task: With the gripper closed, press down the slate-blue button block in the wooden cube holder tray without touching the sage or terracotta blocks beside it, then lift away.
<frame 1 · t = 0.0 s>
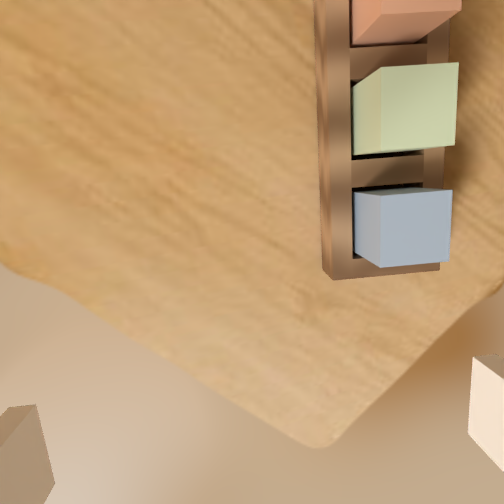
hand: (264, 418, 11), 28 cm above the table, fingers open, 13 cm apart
slate cap: (395, 223, 32), point 6 cm above the table, slide at 0.0 cm
sage cap: (397, 114, 30), point 6 cm above the table, slide at 0.0 cm
wooden cube holder tray: (370, 124, 36), on the table
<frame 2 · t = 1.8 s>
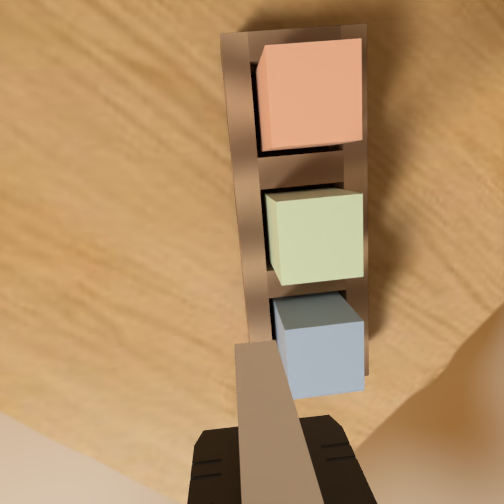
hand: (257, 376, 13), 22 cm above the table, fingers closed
slate cap: (314, 339, 30), point 6 cm above the table, slide at 0.0 cm
sage cap: (309, 231, 28), point 6 cm above the table, slide at 0.0 cm
wooden cube holder tray: (295, 220, 34), on the table
terracotta cap: (303, 103, 26), point 6 cm above the table, slide at 0.0 cm
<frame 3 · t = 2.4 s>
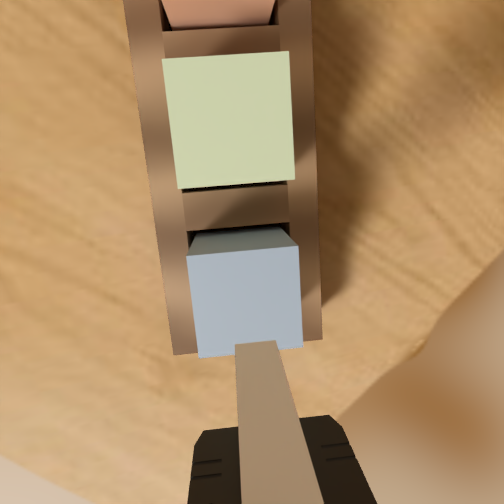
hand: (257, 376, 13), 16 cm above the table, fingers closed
slate cap: (244, 283, 23), point 6 cm above the table, slide at 0.0 cm
sage cap: (230, 130, 21), point 6 cm above the table, slide at 0.0 cm
wooden cube holder tray: (229, 139, 26), on the table
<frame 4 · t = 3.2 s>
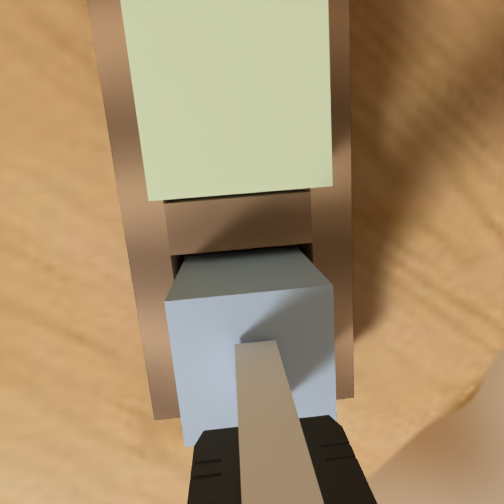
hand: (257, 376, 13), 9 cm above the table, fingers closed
slate cap: (249, 328, 16), point 6 cm above the table, slide at 0.2 cm, touching gripper
sage cap: (232, 113, 14), point 6 cm above the table, slide at 0.0 cm
wooden cube holder tray: (230, 130, 20), on the table
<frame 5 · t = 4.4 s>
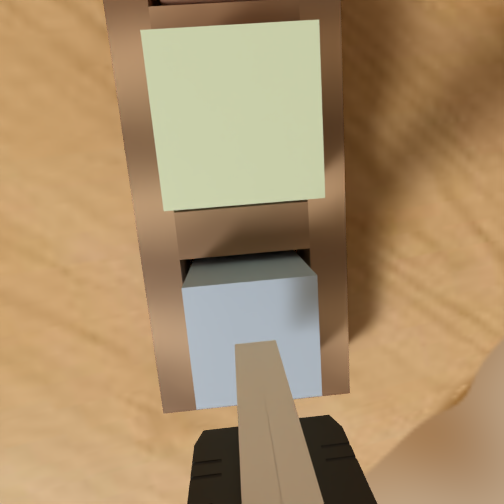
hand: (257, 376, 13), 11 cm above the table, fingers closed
slate cap: (250, 315, 19), point 4 cm above the table, slide at 1.8 cm
sage cap: (236, 132, 16), point 6 cm above the table, slide at 0.0 cm
wooden cube holder tray: (234, 144, 21), on the table
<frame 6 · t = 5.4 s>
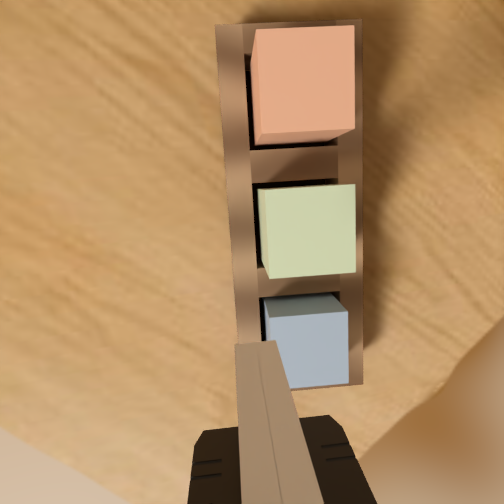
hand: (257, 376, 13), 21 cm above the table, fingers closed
slate cap: (301, 332, 31), point 4 cm above the table, slide at 1.8 cm
sage cap: (301, 226, 27), point 6 cm above the table, slide at 0.0 cm
wooden cube holder tray: (288, 219, 33), on the table
terracotta cap: (296, 94, 25), point 6 cm above the table, slide at 0.0 cm
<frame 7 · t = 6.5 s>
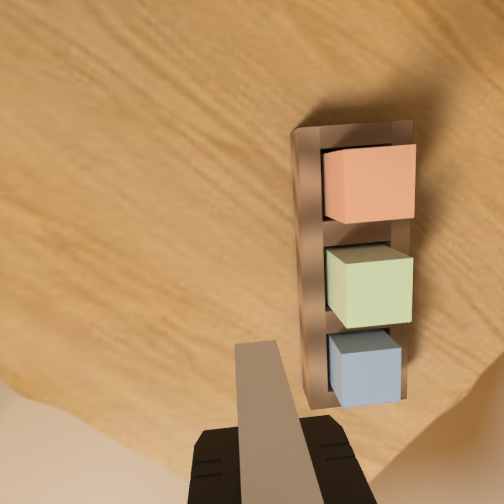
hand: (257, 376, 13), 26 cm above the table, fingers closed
slate cap: (358, 360, 38), point 4 cm above the table, slide at 1.8 cm
sage cap: (364, 281, 34), point 6 cm above the table, slide at 0.0 cm
wooden cube holder tray: (344, 266, 40), on the table
terracotta cap: (363, 183, 32), point 6 cm above the table, slide at 0.0 cm
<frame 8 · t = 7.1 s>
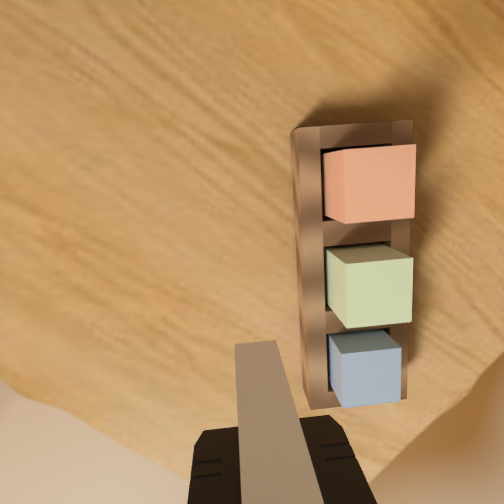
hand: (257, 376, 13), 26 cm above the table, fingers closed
slate cap: (358, 360, 38), point 4 cm above the table, slide at 1.8 cm
sage cap: (364, 281, 34), point 6 cm above the table, slide at 0.0 cm
wooden cube holder tray: (344, 266, 40), on the table
terracotta cap: (363, 183, 32), point 6 cm above the table, slide at 0.0 cm
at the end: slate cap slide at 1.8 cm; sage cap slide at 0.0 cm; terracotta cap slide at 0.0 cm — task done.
